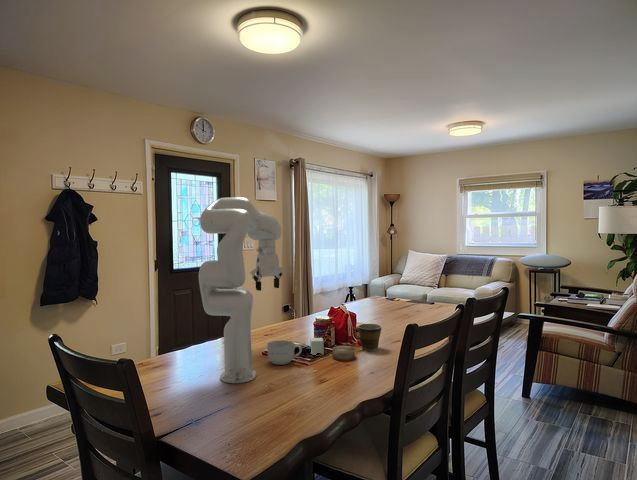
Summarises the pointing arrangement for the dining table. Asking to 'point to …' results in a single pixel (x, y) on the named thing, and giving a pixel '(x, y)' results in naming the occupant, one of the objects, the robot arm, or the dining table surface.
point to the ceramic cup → (369, 336)
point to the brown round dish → (343, 353)
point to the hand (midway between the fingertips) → (267, 289)
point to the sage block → (317, 346)
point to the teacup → (282, 351)
